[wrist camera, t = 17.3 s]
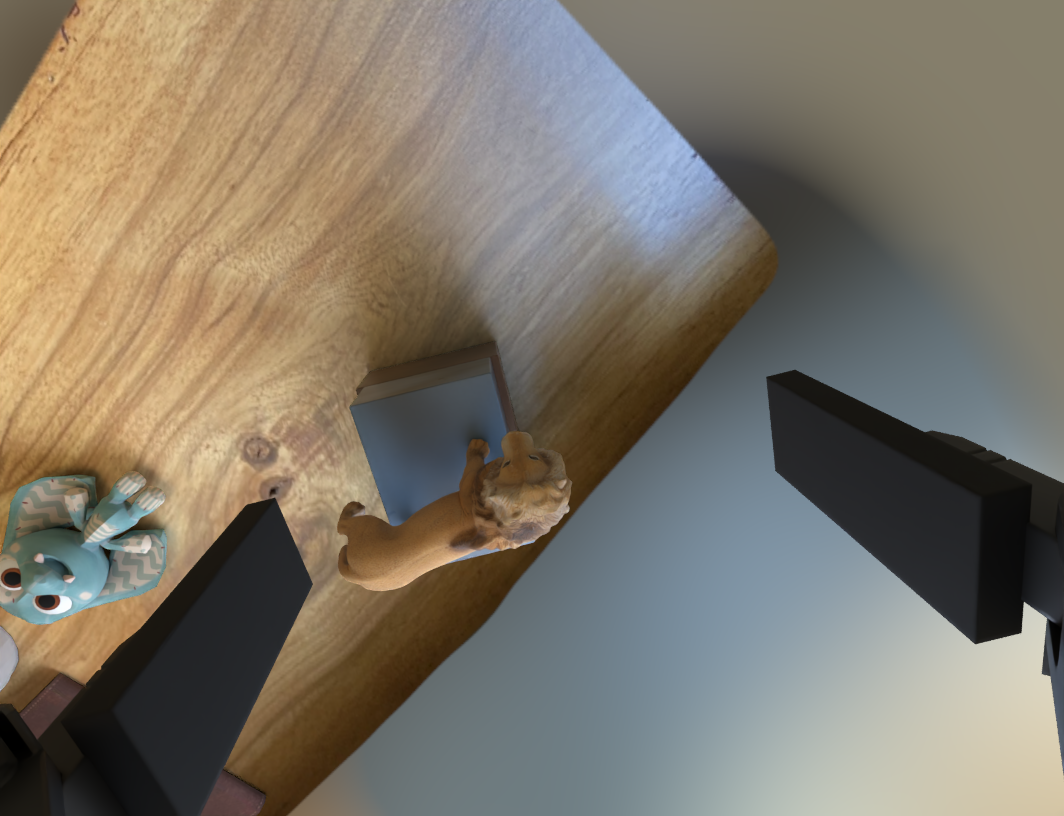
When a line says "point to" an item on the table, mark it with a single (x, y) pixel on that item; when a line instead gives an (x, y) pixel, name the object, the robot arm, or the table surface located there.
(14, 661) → the coffee cup
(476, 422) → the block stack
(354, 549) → the lion figurine
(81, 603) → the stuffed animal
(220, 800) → the notebook
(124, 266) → the table surface
